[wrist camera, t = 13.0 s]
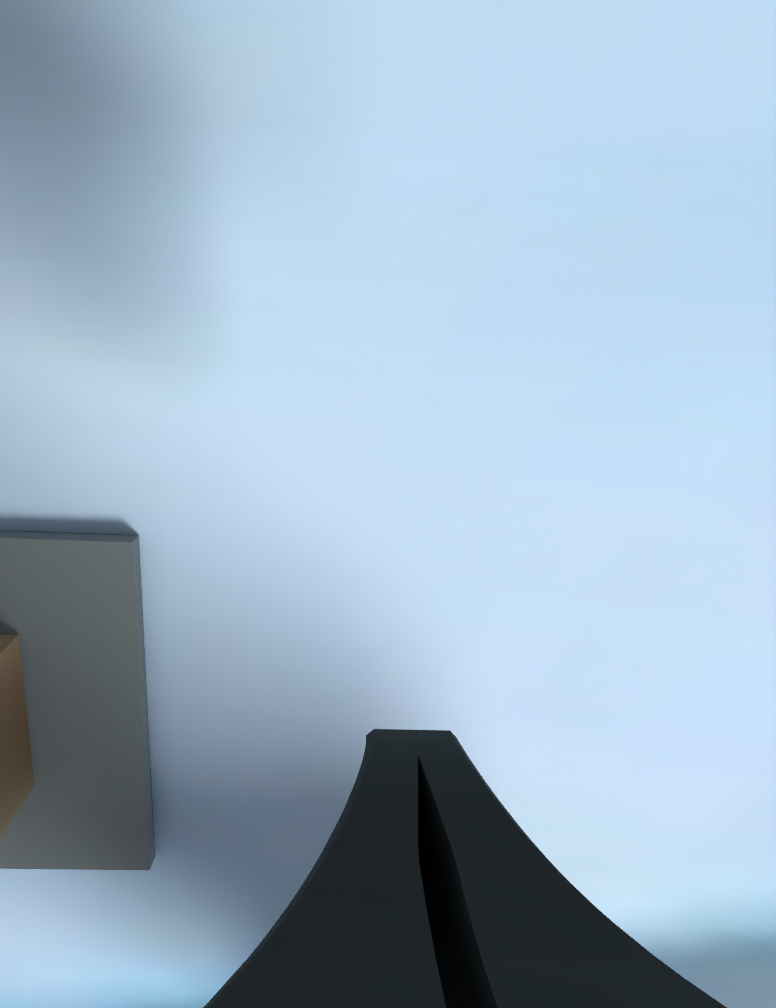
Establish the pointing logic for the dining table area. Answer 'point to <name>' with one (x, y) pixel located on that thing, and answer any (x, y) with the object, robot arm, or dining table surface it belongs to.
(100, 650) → the mat
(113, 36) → the dining table surface
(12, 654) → the slab
